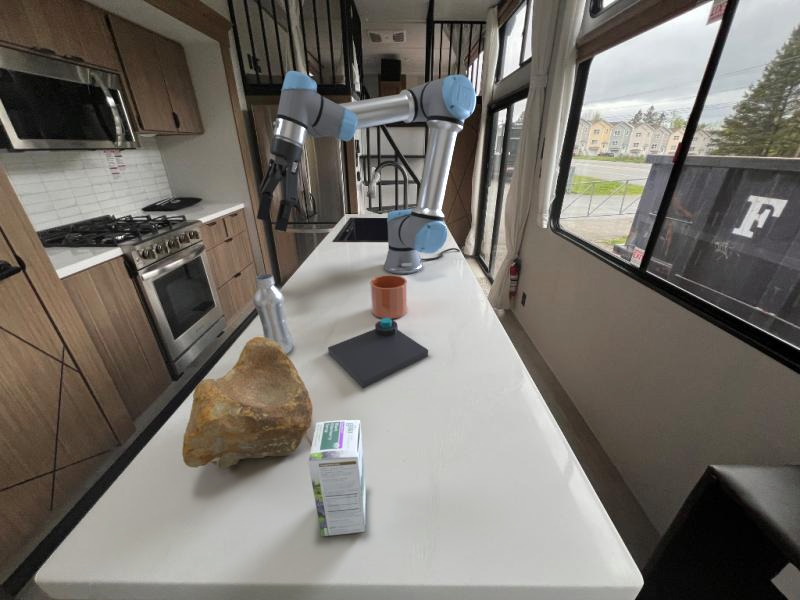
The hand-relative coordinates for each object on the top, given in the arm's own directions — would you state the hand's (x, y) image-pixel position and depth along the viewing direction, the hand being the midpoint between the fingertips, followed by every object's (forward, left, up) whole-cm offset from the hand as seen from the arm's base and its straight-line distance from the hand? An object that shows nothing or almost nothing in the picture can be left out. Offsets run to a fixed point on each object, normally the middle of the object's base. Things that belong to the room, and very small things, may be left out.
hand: (270, 225), depth 86 cm
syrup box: (+15, +63, -27) cm, 70 cm away
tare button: (-16, +30, -24) cm, 41 cm away
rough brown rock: (+19, +43, -27) cm, 54 cm away
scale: (-9, +35, -27) cm, 45 cm away
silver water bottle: (+9, +19, -27) cm, 34 cm away
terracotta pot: (-24, +19, -27) cm, 41 cm away
